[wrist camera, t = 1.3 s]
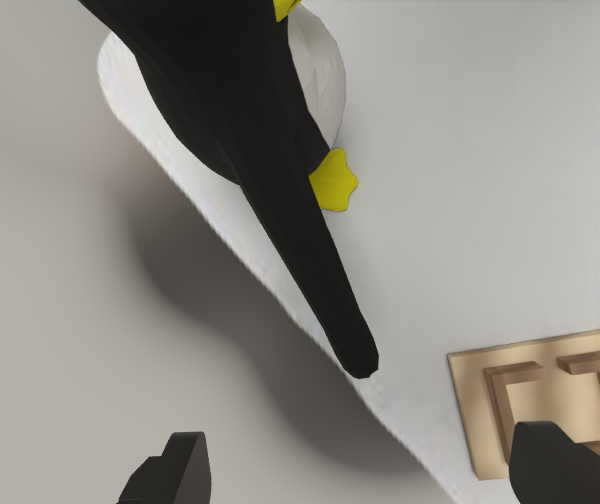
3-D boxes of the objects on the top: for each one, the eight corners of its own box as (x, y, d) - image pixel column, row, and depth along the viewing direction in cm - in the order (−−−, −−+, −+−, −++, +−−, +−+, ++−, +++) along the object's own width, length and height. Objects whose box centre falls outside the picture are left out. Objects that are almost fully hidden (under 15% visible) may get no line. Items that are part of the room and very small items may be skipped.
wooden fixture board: (622, 326, 32) (651, 333, 29) (655, 453, 31) (688, 475, 28) (447, 354, 34) (456, 364, 31) (474, 472, 34) (486, 495, 31)
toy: (429, 283, 35) (839, 443, 5) (319, 331, 37) (165, 653, 7) (279, -17, 38) (-1, -1010, 8) (185, 41, 40) (-327, -595, 10)
